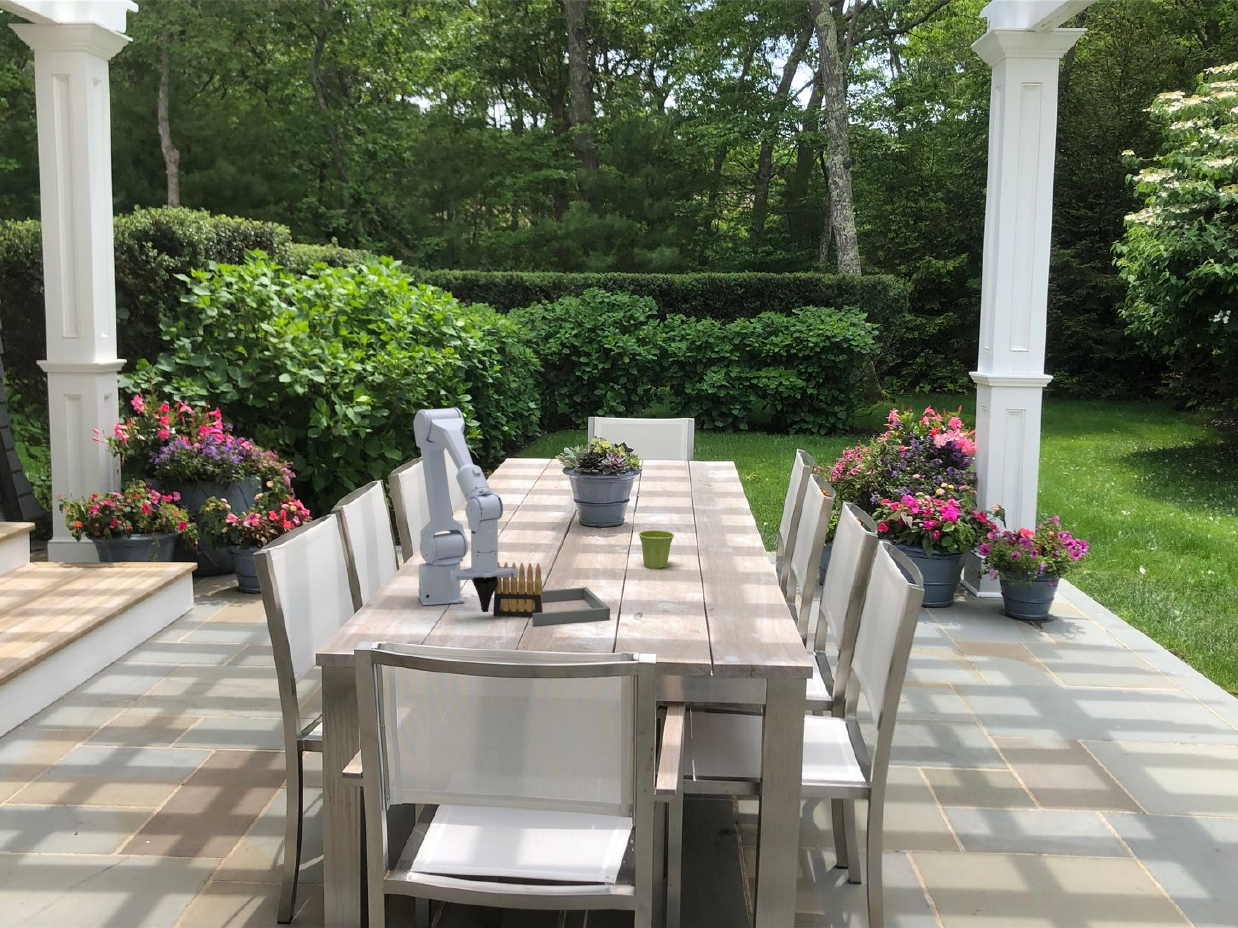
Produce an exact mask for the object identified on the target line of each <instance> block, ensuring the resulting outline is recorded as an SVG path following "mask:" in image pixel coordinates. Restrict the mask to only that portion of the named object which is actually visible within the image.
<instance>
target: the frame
mask: <svg viewBox="0 0 1238 928" xmlns="http://www.w3.org/2000/svg"><path fill="white" fill-rule="evenodd" d="M577 600H584V601H585V602H586V603H587V604H588V605H589V606H590V605H591V606H592V607H591V606H590V607H591V608H584V609H583V608H581V609H569V610H560V611H559V610H558V611H557V610H556V611H546V612H545V611H544V612H543V613H532V617H531V618H532V621H531V622H532V626H533V627H537V626H538V627H539V626H550V625H561V624H562V625H563V624H572V623H573V624H575V623H585V622H587V623H588V622H597V621H599V620H600V621H606V620H605V619H610V620H611V608H610V607H609V606H608V605H607V604H606V603H605V602H603V600H602V599H600V598H599V597H598V596H597V595H596V594H595V593H594V592H593V591H591V589H590V588H589V587H587V586H585V587H584V586H583V587H574V588H571V587H570V588H557V589H542V603H550V602H564V601H577ZM600 621H599V622H600Z"/></svg>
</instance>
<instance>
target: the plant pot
mask: <svg viewBox="0 0 1238 928" xmlns="http://www.w3.org/2000/svg"><path fill="white" fill-rule="evenodd" d="M638 536H639V539H640V542H641V550H642V562H643V566H644V567H647V568H648V569H655V570H656V569H658V570H659V569H661V568H667V566H668V562H669V555H670V549H671V544H672V542H673V538H674V537H675V534H674V533H673V532H671V531H666V530H658V529H657V530H656V529H653V530H652V529H651V530H650V529H649V530H643V531H640V532H638Z"/></svg>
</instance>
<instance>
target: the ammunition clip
mask: <svg viewBox="0 0 1238 928" xmlns="http://www.w3.org/2000/svg"><path fill="white" fill-rule="evenodd" d="M500 567H501V565H500V562H499V561H498V569H500ZM503 567H504V568H508V567H509V565H508V562H507V561H505V562H504V565H503ZM511 567H512V569H516V567H517V565H516V562H513V563H512V565H511ZM541 569H542V568H541V566H540V563H539V562H537V564H536V566H535V577H534V574H533V572H534V571H533V566H532V563H531V562H528V565H527V571H525V566H524V563H523V562H521V563H520V566H519V568H518V577H515V578H514V577H513V573H512V577H503V578H497V580H498V584H497V587H496V589H495V591H494V593H493V595H494V596H493V617H504V618H505V617H509V618H511V617H512V618H513V617H514V618H532V613H543V609H544V608H543V602H542V590H543V587H542V586H543V581H542V571H541ZM525 572H526V573H527V574H526V576H525Z"/></svg>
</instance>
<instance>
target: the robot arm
mask: <svg viewBox="0 0 1238 928" xmlns="http://www.w3.org/2000/svg"><path fill="white" fill-rule="evenodd" d="M464 419H465V418H464V415H463V413H462V411H461V410H460V409H459V408H458V407H451V408H449V407H448V408H433V409H424V408H423V409H419V410H418V411H417V413H416V414H415V416H414V419H413V421H412V422H413V424H412V425H413V431H414V437H415V438H414V439H415V444H416V446H417V448H419V449H420V453H421V461H422V469H423V477H424V483H425V490H426V491H425V492H426V498H427V504H428V505H427V506H428V512H429V522H427V524H426V525H424V527H422V529H421V530H420V533H419V534H420V542H419V552H420V556H421V558H422V559H423V560H424V563H420V564H419V565H418V599H419V600H420V603H421V604H422V606H432V605H433V606H434V605H443V604H457V603H465V601H466V600H465V599H464V597H463V596H462V594H461V593H462V591H461V581H472V584H473V586H474V588H475V590H476V592H477V596H478V599H479V603H480V608H481V609H480V610H481V612H482V613H489V608H490V604H491V600H492V597H493V595H494V591H495V589H496V587H497V584H498V580H497V578H501V579H503V577H509V578H511V577H512V573H513V577H514V578H515V577H517V578H519V568H518V566H516V569H512V566H508V568H504V566H500V569H498V562H499V555H498V553H499V552H498V551H499V550H498V549H499V547H498V546H499V544H498V543H499V532H498V531H499V527H498V525H499V523H498V520H500V519H501V518H502V517H503V514H504V504H503V501H502V498H501V496H500V495H499V494H498V493H496V492H495V490H494V489H491V488H490V485H489V483H488V482H487V479H486V478H485V474H484V473H483V471H482V468H481V467H480V466H479V465H475V464H474V463H473V460H472V457H471V454H470V451H469V448H468V445H467V442H466V440H465V436H464V432H465V420H464ZM445 450H446V451H447V453H448V455H449V457H450V459H451V460H452V461H453V463H454V465H455V467H456V469H457V473H456V477H455V478H456V481H457V483H458V486H459V488H460V490H461V492H462V494H463V497H464V498H465V501H466V505H465V507H464V509H465V511H464V512H465V516H466V518H467V521H468V522H467V523H468V524H467V525H468V526H467V527H468V529H469V530H470V549H471V551H470V560H471V562H470V563H471V566H470V567H469V568H464V569H461V562H464V558H465V557H466V556H467V555H468V554H467V553H468V551H469V541H468V537H467V536H466V533H465V528H464V525H463V524H462V523H460V522H459V521H457V520H456V519H454V517H453V509H452V502H451V495H450V487H449V480H448V473H447V465H446V458H445ZM441 532H442V533H441ZM444 532H445V533H444ZM437 533H439V534H437Z"/></svg>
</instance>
